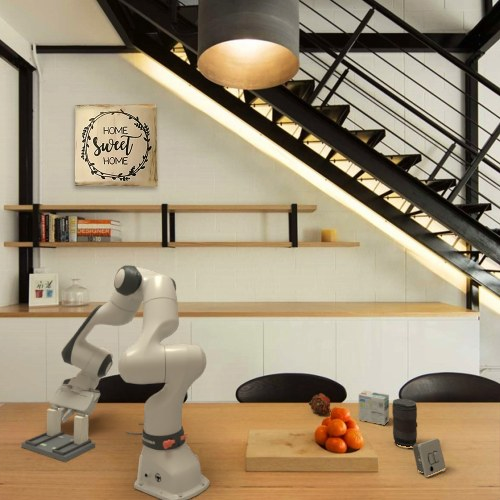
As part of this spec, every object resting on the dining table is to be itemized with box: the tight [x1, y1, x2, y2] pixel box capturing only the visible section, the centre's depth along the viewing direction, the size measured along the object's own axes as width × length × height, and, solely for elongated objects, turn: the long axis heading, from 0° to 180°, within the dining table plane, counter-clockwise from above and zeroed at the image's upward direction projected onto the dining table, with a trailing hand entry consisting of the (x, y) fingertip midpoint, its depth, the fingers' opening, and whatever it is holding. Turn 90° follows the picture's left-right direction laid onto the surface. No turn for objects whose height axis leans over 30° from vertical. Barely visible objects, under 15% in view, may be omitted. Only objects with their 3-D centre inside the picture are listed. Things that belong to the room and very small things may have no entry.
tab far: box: [46, 405, 62, 436], centre depth 152 cm, size 4×3×10 cm
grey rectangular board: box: [21, 430, 96, 463], centre depth 145 cm, size 22×12×2 cm, turn 62°
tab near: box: [73, 413, 89, 445], centre depth 145 cm, size 4×3×10 cm
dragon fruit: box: [308, 392, 331, 416], centre depth 179 cm, size 8×8×12 cm
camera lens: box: [391, 398, 418, 447], centre depth 149 cm, size 8×8×15 cm
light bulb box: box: [358, 390, 390, 426], centre depth 170 cm, size 11×7×11 cm, turn 58°
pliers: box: [125, 422, 144, 436], centre depth 160 cm, size 10×1×20 cm
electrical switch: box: [412, 437, 447, 476], centre depth 131 cm, size 9×5×9 cm, turn 121°
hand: (60, 421), depth 154 cm, fingers closed
